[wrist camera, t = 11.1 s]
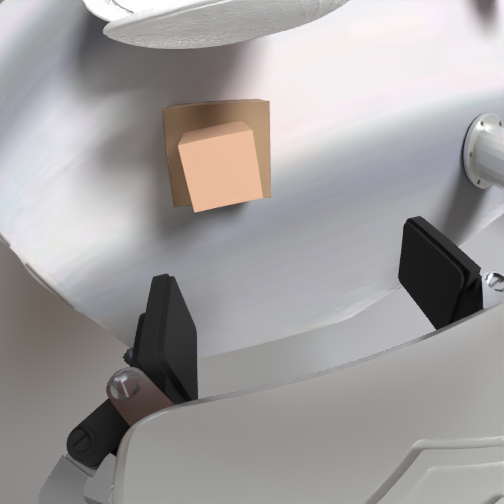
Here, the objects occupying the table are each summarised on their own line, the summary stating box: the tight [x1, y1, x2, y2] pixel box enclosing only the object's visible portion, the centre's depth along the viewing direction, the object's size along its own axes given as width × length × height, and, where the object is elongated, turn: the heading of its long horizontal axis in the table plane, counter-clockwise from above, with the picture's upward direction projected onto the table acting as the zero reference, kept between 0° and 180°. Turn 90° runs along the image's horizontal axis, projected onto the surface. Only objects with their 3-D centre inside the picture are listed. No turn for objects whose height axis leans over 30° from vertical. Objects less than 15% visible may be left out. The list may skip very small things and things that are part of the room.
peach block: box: [178, 121, 263, 212], centre depth 22 cm, size 5×5×6 cm
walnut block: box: [162, 99, 271, 207], centre depth 28 cm, size 9×9×6 cm
